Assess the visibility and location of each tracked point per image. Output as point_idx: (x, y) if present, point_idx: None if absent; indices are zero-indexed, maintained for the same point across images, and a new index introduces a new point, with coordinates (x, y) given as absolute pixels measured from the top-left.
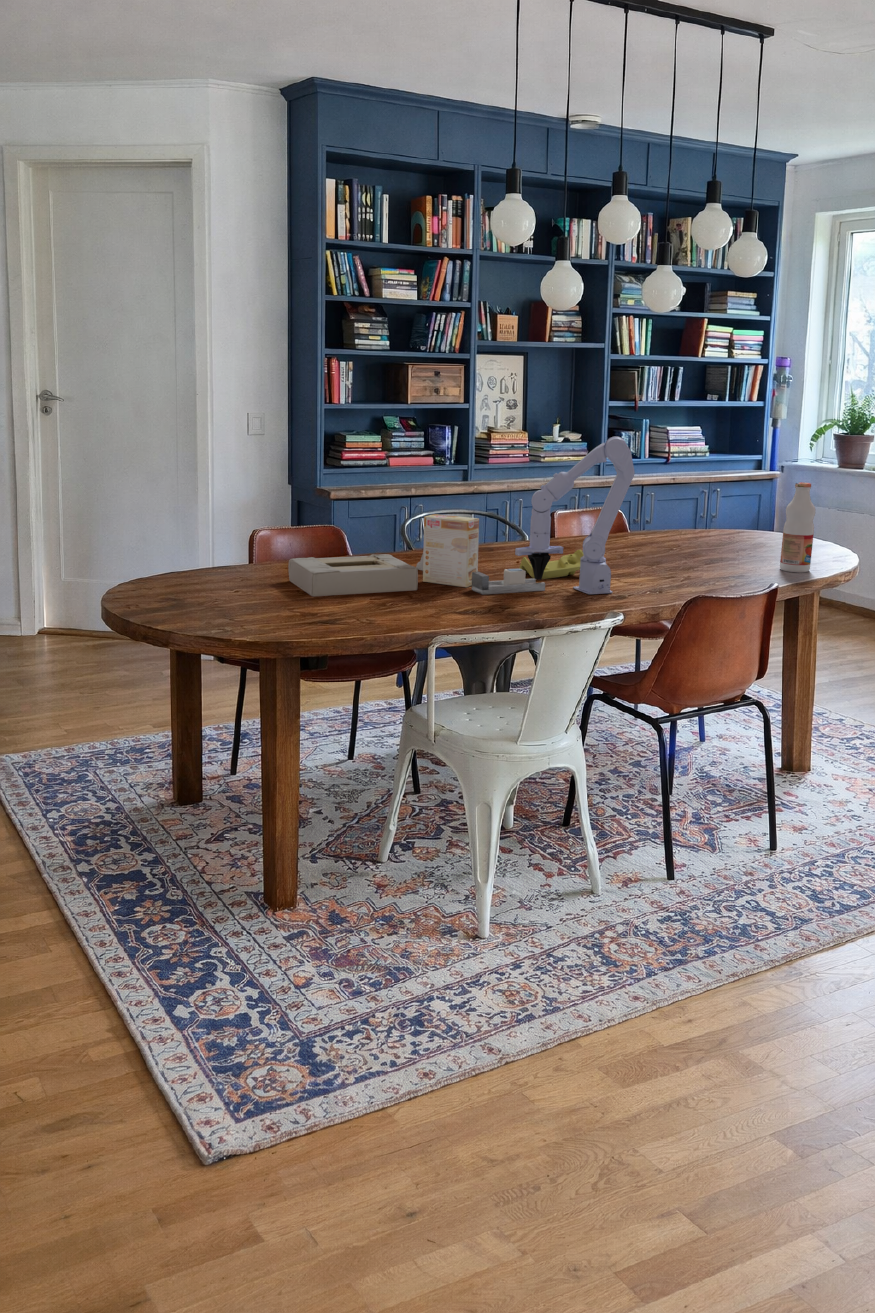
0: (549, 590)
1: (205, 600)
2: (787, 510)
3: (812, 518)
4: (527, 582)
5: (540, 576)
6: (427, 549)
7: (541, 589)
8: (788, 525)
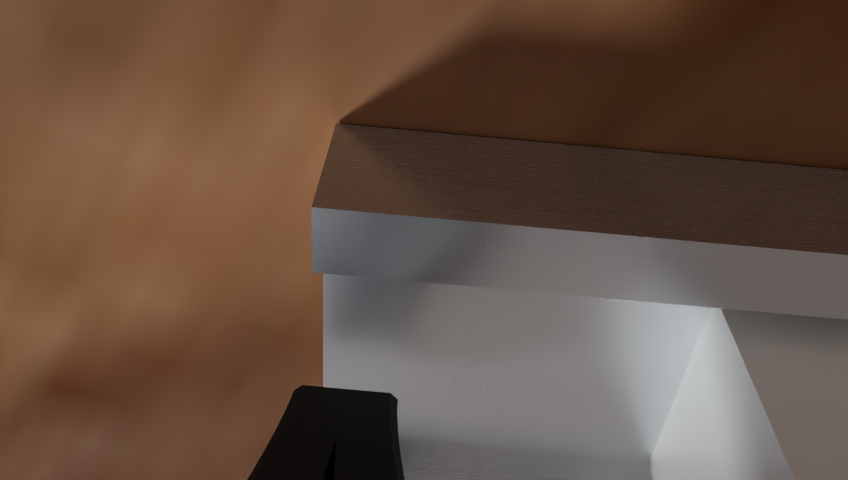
0: (238, 103)
1: None
2: None
3: None
4: (468, 477)
5: (331, 430)
6: None
7: (414, 140)
8: None
